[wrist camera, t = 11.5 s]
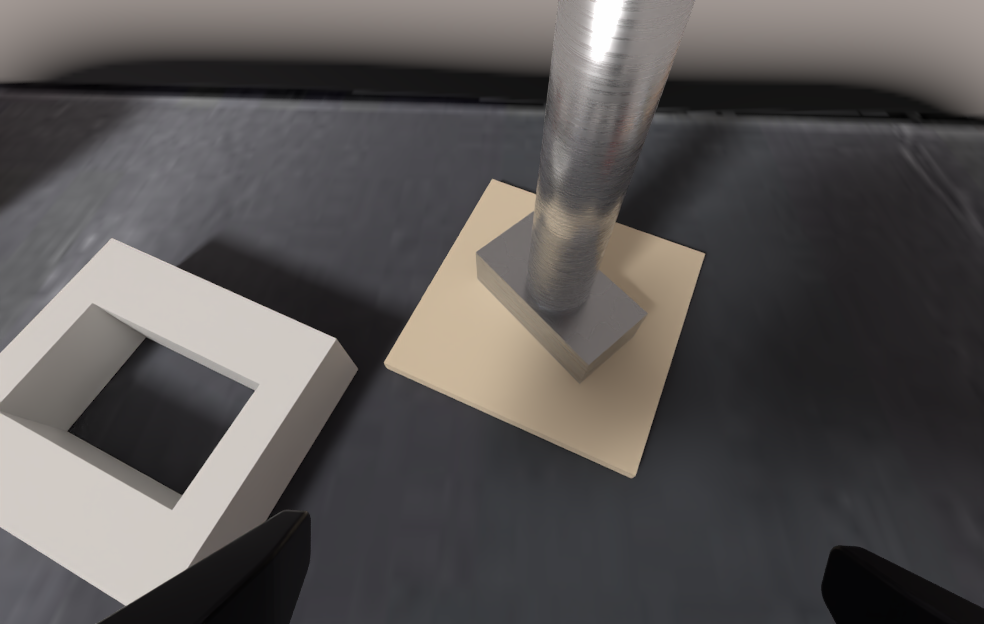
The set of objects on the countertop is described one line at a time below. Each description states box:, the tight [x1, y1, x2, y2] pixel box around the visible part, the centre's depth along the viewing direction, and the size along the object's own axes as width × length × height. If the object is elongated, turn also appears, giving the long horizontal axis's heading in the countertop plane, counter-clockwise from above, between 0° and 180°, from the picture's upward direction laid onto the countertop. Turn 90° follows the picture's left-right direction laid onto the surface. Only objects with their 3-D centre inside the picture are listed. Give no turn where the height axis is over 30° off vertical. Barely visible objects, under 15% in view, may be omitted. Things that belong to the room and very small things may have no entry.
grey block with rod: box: [476, 0, 695, 384], centre depth 14 cm, size 6×3×14 cm, turn 40°
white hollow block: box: [0, 238, 358, 606], centre depth 17 cm, size 10×9×3 cm
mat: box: [384, 179, 705, 478], centre depth 20 cm, size 10×10×1 cm
